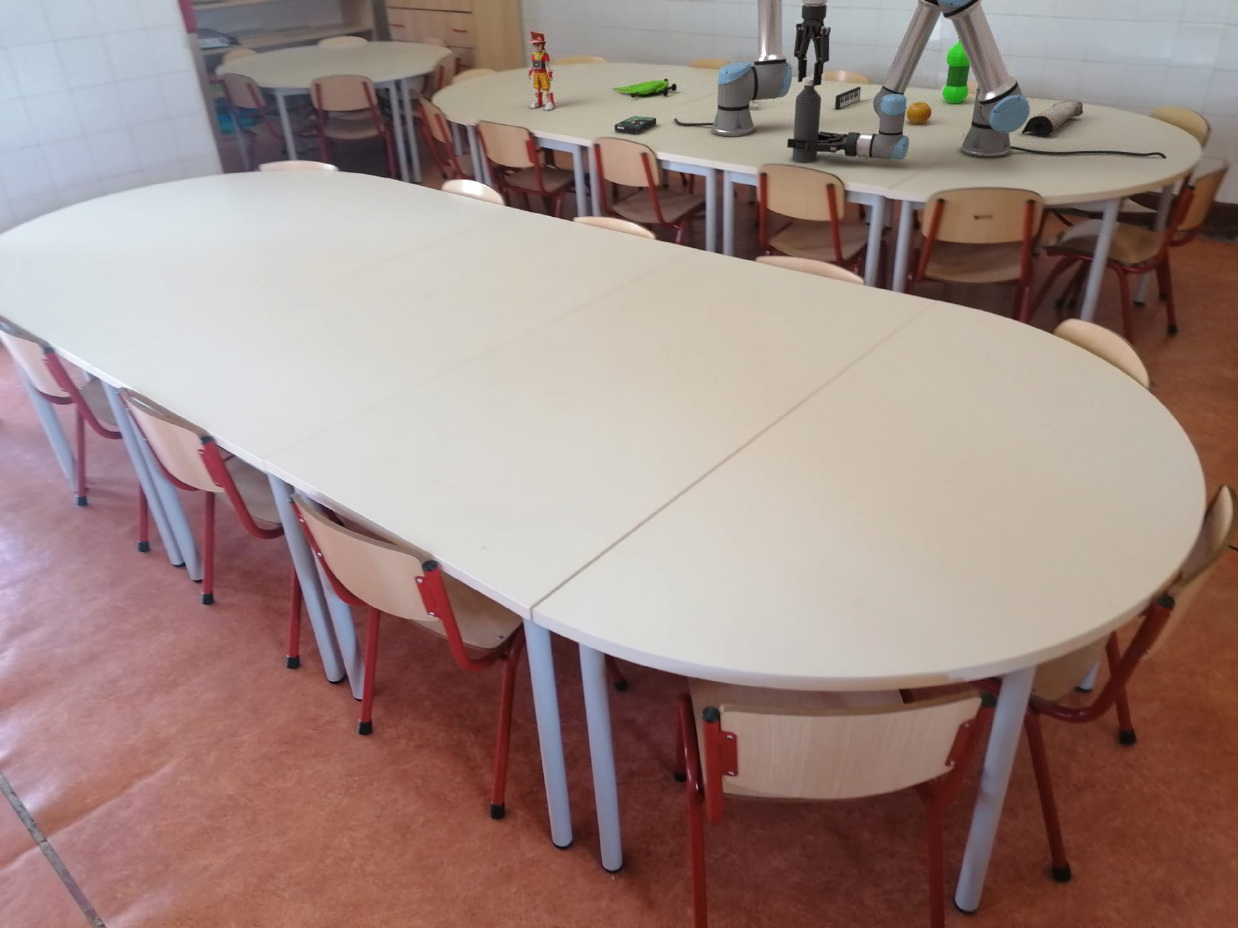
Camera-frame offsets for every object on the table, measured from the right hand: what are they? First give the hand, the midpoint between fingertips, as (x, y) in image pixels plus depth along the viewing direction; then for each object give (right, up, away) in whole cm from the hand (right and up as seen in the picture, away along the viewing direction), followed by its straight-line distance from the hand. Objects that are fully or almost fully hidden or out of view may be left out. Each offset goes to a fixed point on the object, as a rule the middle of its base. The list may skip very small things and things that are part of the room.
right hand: (792, 139), depth 302 cm
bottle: (+4, -6, +2) cm, 8 cm away
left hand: (+3, +14, -12) cm, 19 cm away
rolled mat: (+97, +11, +18) cm, 99 cm away
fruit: (+53, +17, +31) cm, 64 cm away
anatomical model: (-8, +37, +65) cm, 75 cm away
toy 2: (-49, +55, +95) cm, 120 cm away
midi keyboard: (+33, +35, +58) cm, 76 cm away
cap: (+3, +15, -13) cm, 20 cm away
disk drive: (-52, +20, +45) cm, 72 cm away
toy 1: (-91, +43, +81) cm, 129 cm away
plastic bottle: (+74, +34, +53) cm, 97 cm away
